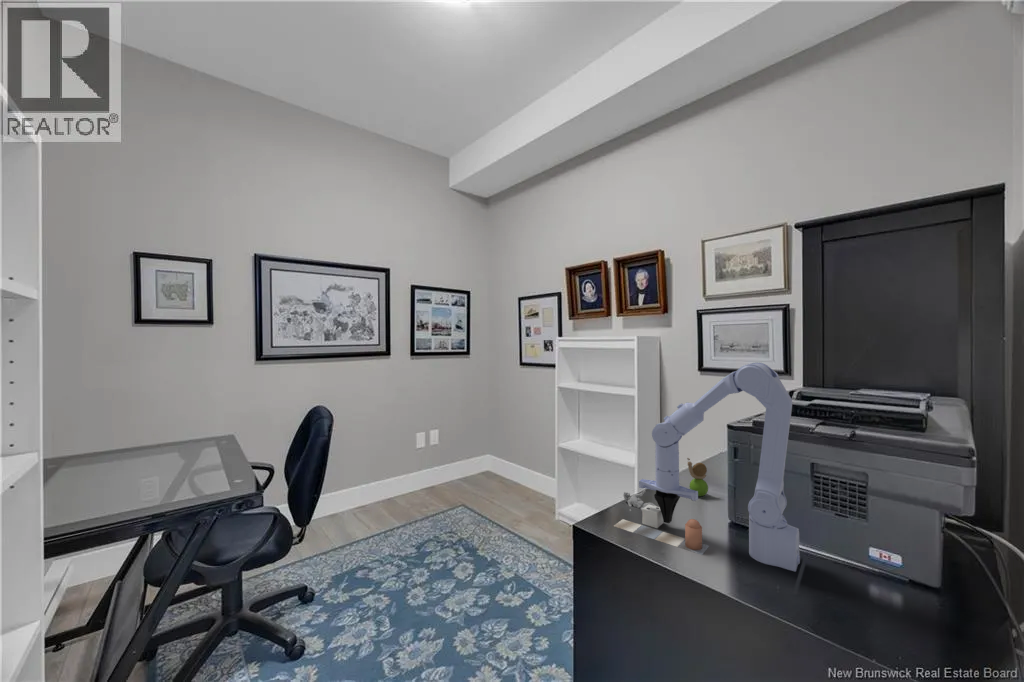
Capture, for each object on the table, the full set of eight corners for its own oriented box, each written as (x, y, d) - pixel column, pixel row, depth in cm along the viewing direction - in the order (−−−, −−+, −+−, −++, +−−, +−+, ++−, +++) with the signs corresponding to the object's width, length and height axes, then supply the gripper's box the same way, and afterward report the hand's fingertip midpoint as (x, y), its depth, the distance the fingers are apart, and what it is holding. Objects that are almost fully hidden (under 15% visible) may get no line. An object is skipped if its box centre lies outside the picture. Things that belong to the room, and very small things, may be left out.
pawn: (704, 545, 96) (704, 519, 96) (699, 551, 94) (699, 524, 94) (688, 541, 99) (688, 514, 99) (683, 546, 96) (683, 519, 96)
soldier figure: (648, 525, 112) (613, 499, 120) (651, 532, 115) (617, 505, 123) (664, 502, 114) (629, 478, 122) (667, 509, 117) (633, 485, 125)
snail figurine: (683, 492, 132) (683, 455, 132) (702, 492, 133) (701, 455, 133) (692, 499, 127) (692, 460, 127) (711, 498, 128) (711, 459, 128)
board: (717, 540, 101) (717, 537, 101) (702, 560, 92) (702, 556, 92) (631, 515, 115) (631, 512, 115) (610, 530, 106) (610, 526, 106)
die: (663, 523, 109) (663, 507, 109) (657, 528, 106) (657, 512, 106) (648, 519, 111) (648, 503, 111) (642, 523, 108) (642, 508, 108)
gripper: (701, 470, 104) (702, 524, 104) (646, 460, 114) (646, 509, 114) (692, 477, 99) (693, 534, 99) (635, 466, 108) (635, 517, 108)
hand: (667, 521), depth 106 cm, fingers closed
